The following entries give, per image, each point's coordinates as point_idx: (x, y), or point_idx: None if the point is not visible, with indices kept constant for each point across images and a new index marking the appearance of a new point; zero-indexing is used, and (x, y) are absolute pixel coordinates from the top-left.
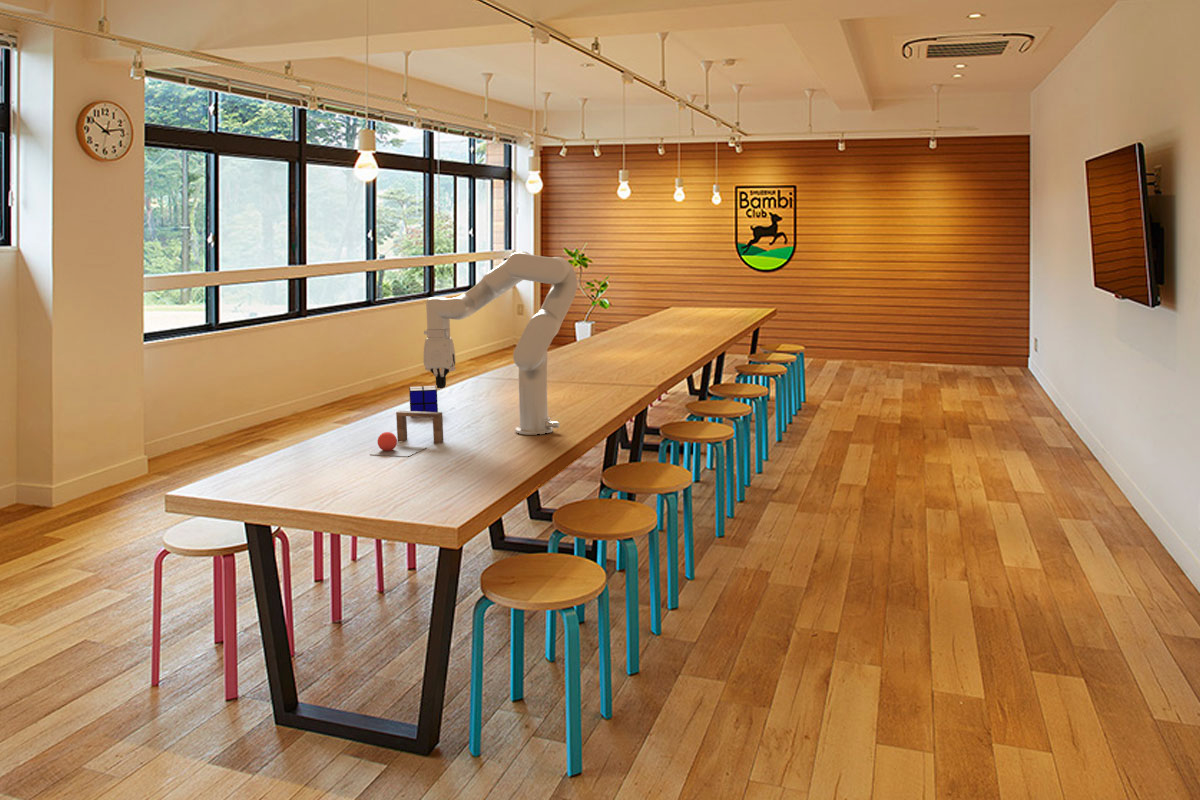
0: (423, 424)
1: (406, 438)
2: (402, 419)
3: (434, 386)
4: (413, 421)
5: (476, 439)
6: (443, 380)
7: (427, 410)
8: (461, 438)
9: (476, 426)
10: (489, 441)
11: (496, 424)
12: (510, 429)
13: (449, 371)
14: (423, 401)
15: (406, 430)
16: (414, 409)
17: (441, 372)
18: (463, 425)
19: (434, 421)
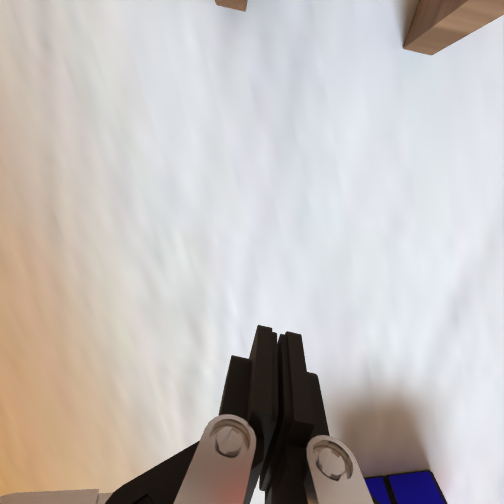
0: (370, 364)
1: (410, 35)
2: None
3: None
4: (414, 411)
5: (81, 68)
6: (229, 390)
7: (380, 497)
8: (154, 91)
9: (166, 324)
10: (7, 19)
11: (107, 352)
12: (26, 271)
13: (92, 494)
14: None
15: (427, 24)
16: (429, 498)
17: (232, 481)
18: (218, 342)
19: None
